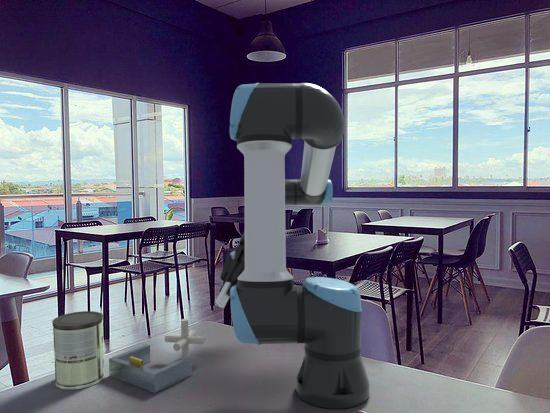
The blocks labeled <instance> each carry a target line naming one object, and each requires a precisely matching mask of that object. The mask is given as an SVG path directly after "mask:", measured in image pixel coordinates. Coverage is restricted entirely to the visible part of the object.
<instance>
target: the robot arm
mask: <svg viewBox="0 0 550 413" xmlns="http://www.w3.org/2000/svg"><path fill="white" fill-rule="evenodd" d="M229 115H230V116H229V137H230V139H231V140H233V141H235V142H236V148H237V150H239V152H240V153H241V154H243V157H244V158H243V159H244V160H243V161H244V162H243V163H244V166H243V168H244V170H243V172H244V175H243V176H244V177H243V179H244V183H243V184H244V186H243V187H244V189H243V190H244V192H243V193H244V198H243V199H244V205H243V206H244V231H243V233H242V235H241V237H240V239H239V244H238V246H237V247H236V248H235V249H234V250H233V251H229V250H228V251H226V254H225V255H226V258H225V261H224V265H223V267H222V270H221V274H220V275H219V276H220V277H219V278H220V280H221V281H222V282H223V284H222V285H221V286H220V288H219V291H218V293H219V294H218V295H217V298H216V300H215V301H214V302H215V303H216V305H217V306H218V307H220V308H222V309H225V308H226V305H227V303H228V302H229V299H230V314H231V319H232V320H231V321H232V327H233V331H234V335H235V337H236V339H237V340H238V342H240V343H242V344H250V345H251V344H253V345H257V346H262V345H277V344H278V345H281V344H282V345H286V344H291V345H294V344H295V345H296V344H304V355H303V357H302V361H301V364H300V366H299V370H298V373H297V376H296V381H295V382H296V383H295V386H296V388H295V389H296V394H297V396H298V397H299V398H300V399H301V400H303V401H304V402H306V403H308V404H310V405H313V406H316V407H320V408H326V409H336V410H338V409H348V408H353V407H357V406H359V405H361V404H363V403H365V402H366V401H367V400H368V399H369V398H370V380H369V378H368V374H367V371H366V368H365V365H364V362H363V359H362V355H361V354H362V348H361V347H362V338H361V337H362V312H363V308H362V302H361V292H360V290H359V288H358V287H357V286H356V285H355V284H353V283H352V282H351V283H350V282H348V281H345V280H342V279H337V278H333V277H325V276H314V277H313V276H312V277H307V278H305V279H304V280H303V283H302V284H303V285H294V275H292V274H291V272H289V271H288V270H287V258H286V255H287V254H286V253H287V250H286V249H287V248H286V247H287V246H286V206H317V207H318V206H323V205H324V206H325V205H331V203H332V202H333V189H334V188H333V183H332V180H331V179H330V174H331V169H332V165H333V161H334V157H335V153H336V148H337V146H339V144H340V143H341V142H342V139H343V137H344V134H345V128H346V124H345V123H346V120H345V117H344V113H343V110H342V108H341V105H340V104H339V102H338V100H336V98H335V97H334V96H333V95H332V94H331V93H329V92H328V91H327V90H326V89H325V88H322V87H321V86H319V85H317V84H313V83H308V82H301V83H289V82H288V83H282V82H281V83H273V82H271V83H266V82H265V83H263V82H261V83H260V82H256V83H247V84H245V83H243V84H240V85H239V86H237V87H236V89H235V91H234V93H233V97H232V100H231V108H230V114H229ZM293 140H303V141H304V144H303V154H302V162H301V163H302V165H301V174H300V179H299V178H298V179H296V178H295V179H286V170H285V167H286V162H285V161H286V158H285V157H286V154H287V153H289V151H290V150H291V149H292V147H293Z"/></svg>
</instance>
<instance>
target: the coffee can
mask: <svg viewBox="0 0 550 413" xmlns="http://www.w3.org/2000/svg"><path fill="white" fill-rule="evenodd" d="M103 320H104V315H103V313H102V312H99V311H93V310H92V311H91V310H88V311H86V310H85V311H83V310H82V311H75V312H69V313H66V314H65V313H64V314H62V315H59V316H57V317H55V318H53V320H52V322H51V323H52V327H53V328H52V329H53V330H52V331H53V332H52V333H53V351H54V352H53V354H54V371H55V372H54V376H55V384H54V385H55V386H56V388H59V389H60V390H67V391H68V390H70V391H71V390H72V391H73V390H81V389H86V388H89V387H92V386H94V385H97V384H99V383H100V382H102V381H103V380H104V379H105V375H106V374H105V357H104V354H105V353H104V351H105V350H104V324H103Z"/></svg>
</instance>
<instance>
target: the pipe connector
mask: <svg viewBox="0 0 550 413" xmlns="http://www.w3.org/2000/svg"><path fill="white" fill-rule="evenodd" d="M189 324H190V323H189V319H188V318H182V319H181V320H180V332H181V334H177V335H176V334H165V336H164V343H174V344H173V346H172V347H173V350H174V351H176V352H178V351H180V350H181V359H184V358H186V357H190V344H192V345H206V339H207V338H206V336H196V335H197V332H196V331H195V329H189V328H190V327H189Z"/></svg>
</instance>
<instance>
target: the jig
mask: <svg viewBox="0 0 550 413" xmlns="http://www.w3.org/2000/svg"><path fill="white" fill-rule="evenodd" d="M192 360H193V358H192V357H190V356H189V357H186V358H184V359H182V358H181V359H180V360H179V359H178V360H177V361H175V362H173V363H171V364H168V365H166V366H164V367H161V368H159V369H157V370H153V369H150V368H147V367H144V364H147V363H149V362H151V345H150V344H144V345H141V346H139V347H136V348H133V349H131V350H128V351H125V352H122V353H120V354H118V355H114V356H112V357H110V358H108V369H109V374H108V376H109V377H111V378H113V379H116V380H119V381H121V382H124V383H128V384H130V385H132V386H135V387H137V388H139V389H143V390H145V391H147V392H150V393H153V394H156V393H159V392H161V391H163V390H165V389H167V388H169V387H171V386H173V385H175V384H177V383H179V382H182V381H183V380H185V379H187V378H189V377H190V376H193V369H192V368H193V366H192V365H193V363H192V362H193V361H192Z"/></svg>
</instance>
